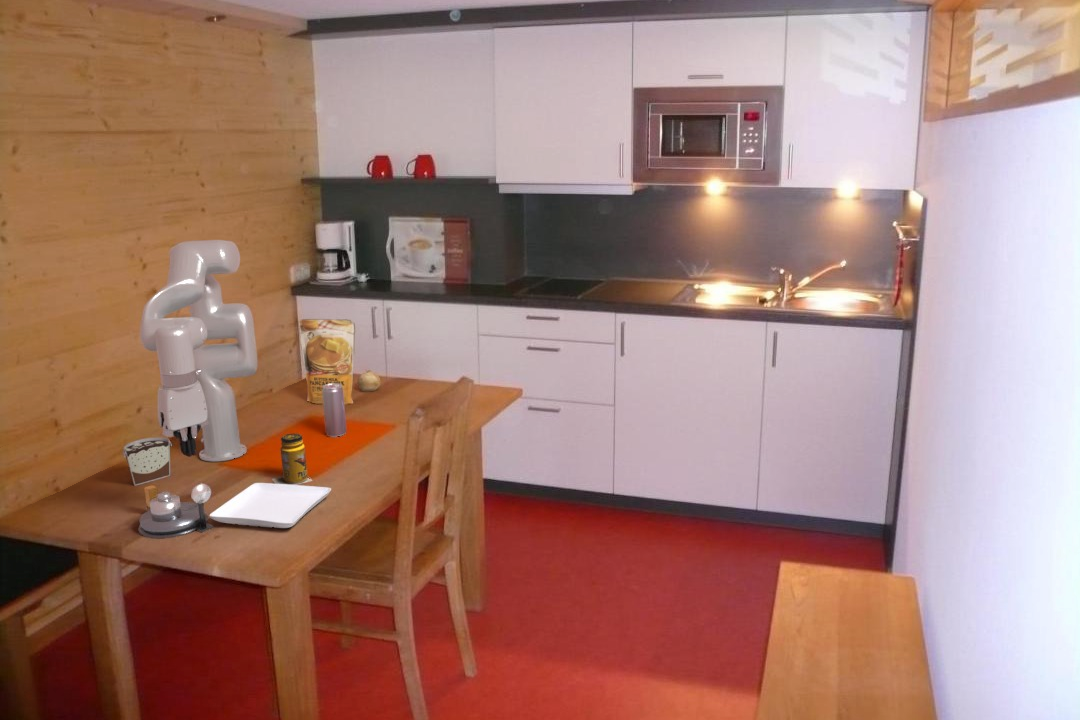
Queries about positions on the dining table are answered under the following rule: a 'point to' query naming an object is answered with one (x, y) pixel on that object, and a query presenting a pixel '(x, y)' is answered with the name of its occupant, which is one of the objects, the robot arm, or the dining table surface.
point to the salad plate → (270, 505)
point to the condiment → (293, 461)
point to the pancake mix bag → (327, 355)
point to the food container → (148, 459)
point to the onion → (369, 381)
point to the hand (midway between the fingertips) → (189, 454)
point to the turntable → (178, 525)
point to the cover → (165, 507)
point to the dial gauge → (201, 504)
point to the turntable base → (169, 534)
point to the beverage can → (334, 409)
